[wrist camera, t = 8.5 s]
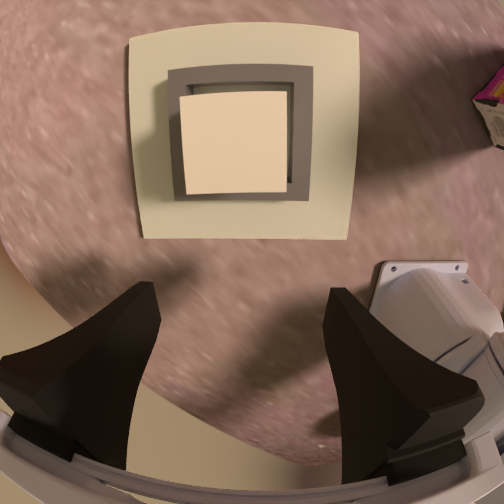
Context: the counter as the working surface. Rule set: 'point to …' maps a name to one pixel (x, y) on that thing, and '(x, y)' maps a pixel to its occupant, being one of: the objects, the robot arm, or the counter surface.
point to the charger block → (234, 142)
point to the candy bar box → (493, 108)
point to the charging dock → (242, 80)
